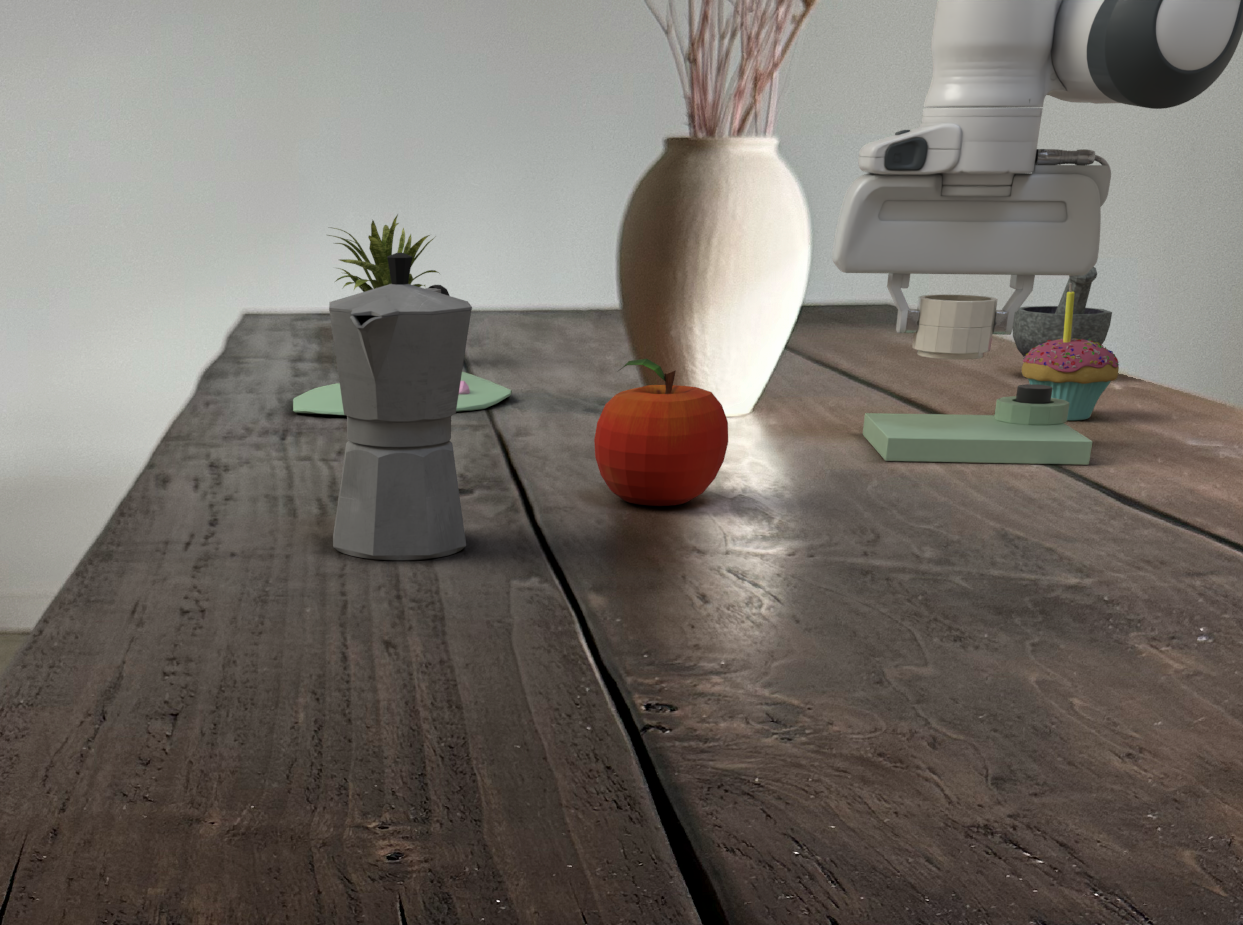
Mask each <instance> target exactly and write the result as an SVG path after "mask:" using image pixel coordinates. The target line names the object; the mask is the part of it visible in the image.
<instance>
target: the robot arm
mask: <svg viewBox="0 0 1243 925" xmlns="http://www.w3.org/2000/svg"><path fill="white" fill-rule="evenodd" d="M933 19H934V20H933V26H932V33H931V41H930V53H931V59H932V75H931V81H930V85H929V88H928V91H927V93H926V94H925V95H926V96H925V98H924V102H923V106H922V107H923V109H922V114H921V115H922V116H921V122H920V123H919V126H917V127H914V128H911V129H902V130H898V131H896V132H895V133H894V134H892V135H889V136H886V137H882V138H880V139H876V140H873V141H870V142H867V143H865V144H864V145H862V146H861V148H860V149H859V153H858V158H857V159H858V168H859V169H860V171H861V172H864V174H862V175H859V176H858V177H857V178H856V179H854V180H853V181H852V182H851V183H850V185H849V186H848V188H847V189H846V191H845V194H844V197H843V199H842V203H841V207H840V210H839V213H838V217H837V222H836V227H835V232H834V238H833V246H832V253H831V254H832V255H831V259H832V262H833V264H834V265H835V266H836V268H837V269H838V270H839V271H840V272H842V273H845V274H887V276H888V277H887V282H886V287H887V289H888V292H889V294H890V297H891V299H892V301H893V303H894V306H895V307H896V310H897V317H896V325H895V331H896V333H897V334H914V333H917V331H918V324H917V322H918V320H919V316H920V311H919V310H917V308H910V307H909V304H908V302H907V300H906V297H905V295H904V292H903V291H902V289H908V288H909V287H910V280H911V275H987V276H988V275H992V276H995V275H996V276H997V275H999V276H1010V279H1009V288H1011V289H1014V291H1013V292H1012V294H1011V296H1010V297H1009V298H1008V300H1007V302H1006V303H1005V304H1004V306H1003V307H1002V309H996V314H995V321H994V328H993V335H999V336H1003V335H1005V336H1011V334H1013V322H1014V315H1015V312H1017V311H1018V309H1019V308H1020V307H1022V306H1023V305H1024V303H1025V301H1026V300H1027V299H1028V297H1029V296H1031V295H1030V294H1031V293H1032V292H1033V291H1034V283H1035V278H1036V276H1069V275H1070V276H1083V275H1086V274H1087V273H1088V272H1089V271H1090V270H1091V269H1092V268H1093V267H1095V266H1096V264H1097V263H1098V259H1099V252H1100V244H1101V243H1100V241H1101V218H1102V216H1101V215H1102V214H1101V211H1102V210H1101V208H1102V206H1103V205H1104V204H1105V202H1106V201H1107V199H1108V196H1109V192H1110V186H1111V180H1112V169H1111V166H1110V164H1109V162H1108V160H1106V159H1105V158H1104V157H1102V156H1100V155H1098V154H1096V151H1095V150H1092V149H1087V148H1086V149H1083V148H1082V149H1076V150H1067V149H1066V150H1065V149H1057V148H1038V143H1039V136H1040V130H1041V123H1042V117H1043V116H1042V115H1043V110H1044V102H1045V99H1046V96H1050V97H1052V98H1054V99H1057V100H1059V101H1063V102H1067V103H1068V102H1069V103H1078V104H1079V103H1080V104H1096V105H1099V104H1101V105H1102V104H1123V105H1127V106H1128V105H1129V106H1134V107H1141V108H1145V109H1152V110H1155V109H1156V110H1163V109H1169V108H1174V107H1177V106H1180V105H1183V104H1185V103H1187V102H1190V101H1192V100H1193V99H1196V97H1198V96H1200V95H1201V94H1202V93H1204V92H1206V90H1208V88H1210V87H1211V86H1212V85H1213V84H1214V83H1215V82H1216V81H1217V80H1218V79H1219V77H1220V76H1221V75H1222V73H1224V71H1225V70H1226V68H1227V66H1228V65H1229V64H1230V62H1231V60H1232V58H1233V57H1234V54H1235V52H1236V50H1237V48H1238V46H1239V44H1240V40H1241V39H1242V38H1241V37H1242V35H1243V0H936V5H935V13H934V18H933ZM1094 162H1097V163H1099V164H1094Z"/></svg>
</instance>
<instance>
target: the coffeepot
mask: <svg viewBox="0 0 1243 925" xmlns="http://www.w3.org/2000/svg"><path fill="white" fill-rule="evenodd" d="M412 258H413V257H412V256H410V255H407V254H405V253H403V252H402V253H397V252H395V253H392V255H390V256H387V259H388V265H389V271H390V277H391V283H392V284H389V285H386V286H382V287H379V288H375V289H372V290H369V291H365V292H363V291H362V292H358V293H355V294H352V295H347V296H345V297H342V298H340V299H335V300H332V301H329V304H328V310H329V311H328V312H329V318H330V325H331V332H332V340H333V347H334V355H335V361H336V368H337V376H338V381H339V382H338V383H340V390H341V397H342V404H343V411H344V415H343V416H346V439H347V441H346V442H345V449H344V456H343V461H342V462H343V463H342V471H341V478H340V485H339V492H338V499H337V505H336V513H335V519H334V525H333V526H334V528H333V534H332V547H333V548H334V549H335V550H336V551H337V552H339V553H341V554H345V555H348V556H352V557H355V558H360V559H361V558H362V559H367V560H368V559H369V560H379V561H380V560H381V561H419V560H429V559H436V558H442V557H446V556H450V555H453V554H456V553H459V552H461V551H462V550H463V549H464V548H466V547H467V540H466V534H465V526H464V525H465V524H464V519H463V512H462V511H463V510H462V504H461V496H460V490H459V481H458V475H457V467H456V460H455V453H454V452H455V451H454V446H453V442H452V441H451V439H452V416H454V415H456V413H457V412H456V408H457V402H458V395H459V388H460V382H461V375H462V372H463V369H464V368H463V367H464V362H465V355H466V348H467V342H468V336H469V330H470V329H469V328H470V323H471V322H470V321H471V315H472V310H473V306H472V304H470V302H469V301H467V300H465V299H461V298H458V297H455V296H452V295H450V293H449V291H448V288H446V287H445V286H443V285H441V284H432V285H430V286H428V287H426V288H425V287H422V286H421V287H417V286H414V284H412V283H411V284H408V281H409V275H410V274H411V269H412V266H411V264H412Z"/></svg>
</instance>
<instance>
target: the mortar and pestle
mask: <svg viewBox="0 0 1243 925" xmlns="http://www.w3.org/2000/svg"><path fill="white" fill-rule="evenodd" d="M1097 277H1098V271H1097V268H1096V267H1095V266H1094V267H1093V268H1092V269H1091V270H1090V271H1089V272H1088V273H1087V274H1086V275H1083V276H1070V275H1068V280H1067V282H1066V285H1065V287H1064V290H1063V291H1062V292H1063V293H1062V294H1061V298H1060V300H1059V302H1058V305H1034V306H1033V305H1031V306H1029V305H1028V306H1026V305H1025V306H1021V307H1020V308H1019V309H1018V311H1017V312H1015V315H1014V322H1013V328H1012V338H1013V341H1014V344H1015V346H1016V349H1017V351H1018V352H1019V353H1020V354H1021V356H1022V357H1023V358H1024V357H1025V356H1026V354H1027V353H1029V352H1030V350H1031V349H1032V348H1034V347H1036V346H1038V345H1040V344H1043V343H1046V342H1047V341H1048V340H1051V341H1054V340H1057V339H1063V336H1064V323H1065V310H1066V297H1067V292H1069V287H1070V283H1072V292H1074V306H1073V318H1072V331H1071V339H1073V338H1076V339H1084V340H1087V339H1088V341H1089V340H1091V341H1093V342H1098V343H1099V344H1100V345H1103V344H1104V343H1105V341H1106V339H1107V336H1108V333H1109V330H1110V327H1111V322H1112V317H1113V311H1110V310H1107V309H1104V308H1095V307H1087V304H1088V300H1089V296H1090V291H1091V288H1092V283H1093V282H1094V281H1095V280H1096V279H1097ZM1021 375H1022V376H1023V374H1022V373H1021Z"/></svg>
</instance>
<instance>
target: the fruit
mask: <svg viewBox="0 0 1243 925" xmlns="http://www.w3.org/2000/svg"><path fill="white" fill-rule="evenodd" d="M627 366H643V367H646V368H648V369H650V370H652V371H653V372H654V373H655V374H656V375H657V376H659V378H660V379H662V380H663V381H664V384H649V385H644V386H639V387H634V388H630V389H626V390H622V391H620V392H618V393H616V394H614V395H613V396H612V397H611V398H610V400H608V401H607V402H606V403H605V405H604V406H603V409H602V411H601V413H600V415H599V418H598V420H597V422H596V426H595V427H596V428H595V432H594V433H595V434H594V438H593V439H594V440H593V442H594V457H595V461H596V465H597V467H598V468H597V469H598V471H599V474H600V476H601V478H602V479H603V481H604V482H605V484H606V486H607V487H608V489H609V490H610V491H611V493H613V494H614V495H616V496H617V497H619V498H620V499H622V500H623V501H624V502H627V503H630V504H633V505H641V506H651V507H652V506H653V507H654V506H655V507H656V506H657V507H663V506H678V505H683V504H686V503H688V502H690V501H691V500H694V499H695V498H697V497H698V496H701V495H702V494H704V493H705V491H706V490H707V489H708V487H709V486H710V485H711V484H713V483H714V481H715V479H716V478H717V475H718V474H719V472H720V469H721V468H722V465H723V464H724V461H725V458H726V453H727V449H728V446H729V422H728V418H727V416H726V413H725V410H724V407H723V404H722V403H721V402H720V400H718V398H717V397H716V395H715V394H714V393H713V392H712V391H709V390H706V389H704V388H701V387H697V386H691V385H690V386H689V385H675V384H674V381H675V377H676V372H677V370H676V369H675V370H672V371H669V372H665V373H664V371H663V369H662V367H661V365H659V364H657V363H655V362H654V361H652V360H650V359H649V358H641V359H633V360H628V361H627V362H626V363H625V364H624V365H623V366H622V367H621V368H619V369H618V370H616V372H617V373H618V372H619V371H621V370H622V369H624V368H625V367H627Z"/></svg>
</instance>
